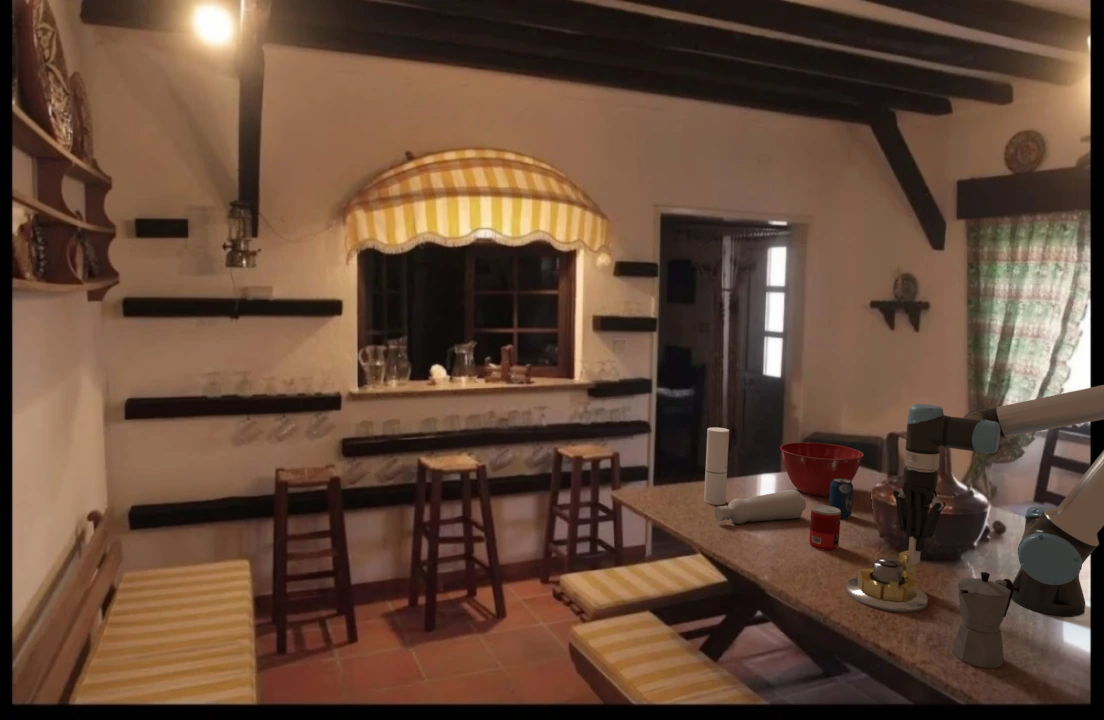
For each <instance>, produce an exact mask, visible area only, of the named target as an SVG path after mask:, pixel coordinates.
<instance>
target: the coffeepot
mask: <svg viewBox="0 0 1104 720" xmlns="http://www.w3.org/2000/svg"><path fill="white" fill-rule="evenodd" d="M980 576H981V578H975V577H973V578H972V577H970V578H967V577H965V578H963V577H962V579H961V580H959V581H958V582H957V587H958V588H957V589H958V598H959V599H958V600H959V611H960V612H959V613H960V615H961V616H962V621H961V623H960V625H959V627H958V628H959V629H958V631H957V635H956V638H955V642H954V645H953V648H952V651H951V652H952V653H953V654H954V655H955V657H956V658H957V659H959V660H960V661H962V662H964V663H965V664H966V663H967V664H968V665H972V666H974V667H978V668H984V669H996V668H997V669H998V668H999V667H1001V666H1003V663H1004V661H1005V657H1004V648H1003V638H1002V631H1001V624H1002V623H1003V621H1004V618H1005V617H1006V616H1007V613H1008V610H1009V607H1010V605H1011V601H1012V595H1013V593H1014V589H1015V587H1014V585H1013V582H1012V580H1011V579H1009V578H1004V579H996V580H995V581H993V580H992V581H991V580H989V579H990V576H991V574H990V573H989V572H986V571H981V572H980Z"/></svg>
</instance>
